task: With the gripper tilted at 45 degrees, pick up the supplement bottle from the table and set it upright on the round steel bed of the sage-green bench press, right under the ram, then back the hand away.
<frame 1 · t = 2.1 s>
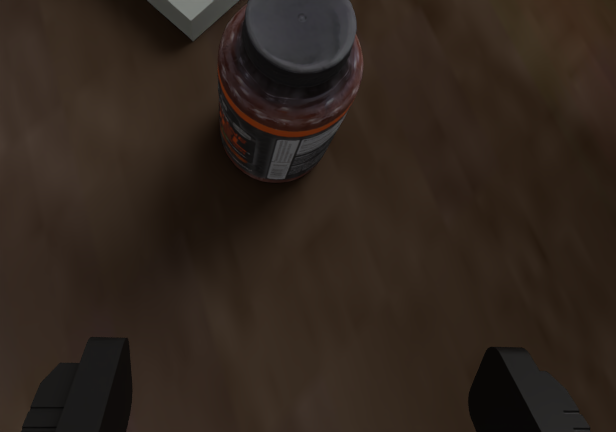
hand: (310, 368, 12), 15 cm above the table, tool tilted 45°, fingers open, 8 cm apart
supplement bottle: (273, 136, 30), on the table
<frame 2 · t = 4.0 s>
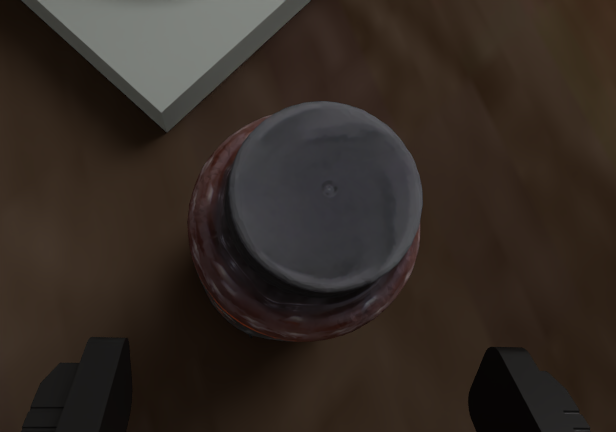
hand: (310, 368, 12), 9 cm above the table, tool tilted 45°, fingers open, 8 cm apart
supplement bottle: (275, 265, 22), on the table
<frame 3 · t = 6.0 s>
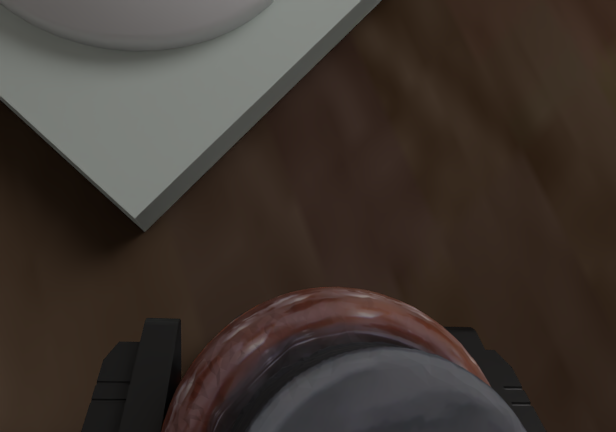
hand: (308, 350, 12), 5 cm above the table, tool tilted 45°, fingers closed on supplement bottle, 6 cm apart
supplement bottle: (283, 403, 17), on the table, touching gripper
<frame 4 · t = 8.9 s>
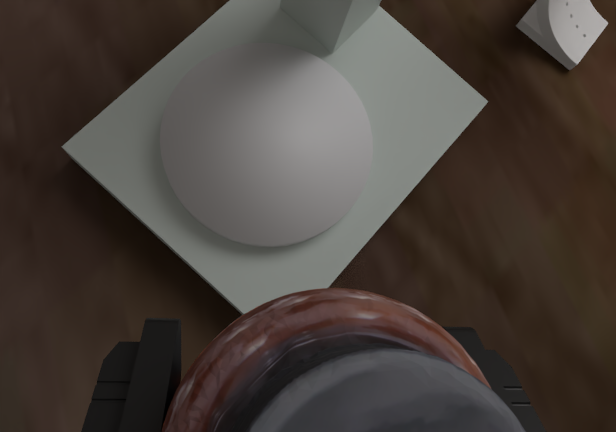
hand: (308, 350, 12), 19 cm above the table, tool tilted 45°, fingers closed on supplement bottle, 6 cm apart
headphone stand: (551, 24, 39), on the table
supplement bottle: (283, 403, 17), point 13 cm above the table, touching gripper
press: (265, 156, 33), on the table
when the fingers open (9 cm above the table, at t = 12.3 s): supplement bottle stays where it is, resting on press.
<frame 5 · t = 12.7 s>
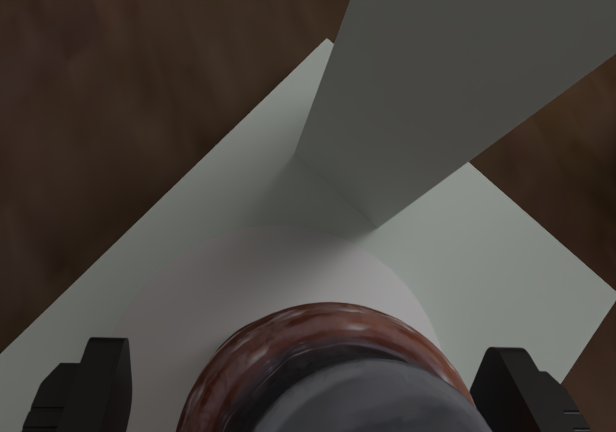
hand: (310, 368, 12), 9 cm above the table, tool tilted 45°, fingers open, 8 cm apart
supplement bottle: (284, 406, 18), point 3 cm above the table, touching press
press: (272, 391, 21), on the table
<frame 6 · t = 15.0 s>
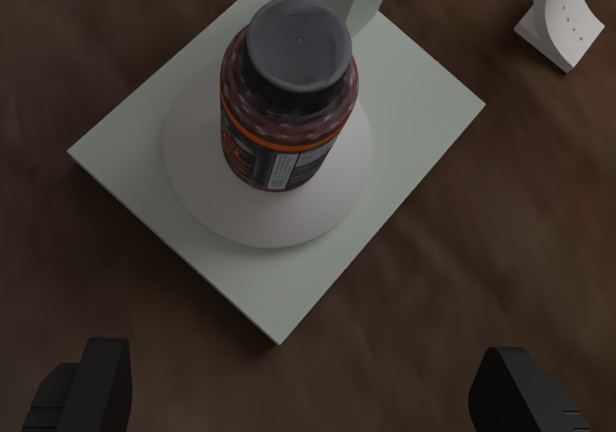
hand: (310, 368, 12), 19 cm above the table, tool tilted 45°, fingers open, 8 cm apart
headphone stand: (548, 28, 39), on the table
supplement bottle: (273, 147, 31), point 3 cm above the table, touching press
press: (266, 159, 33), on the table
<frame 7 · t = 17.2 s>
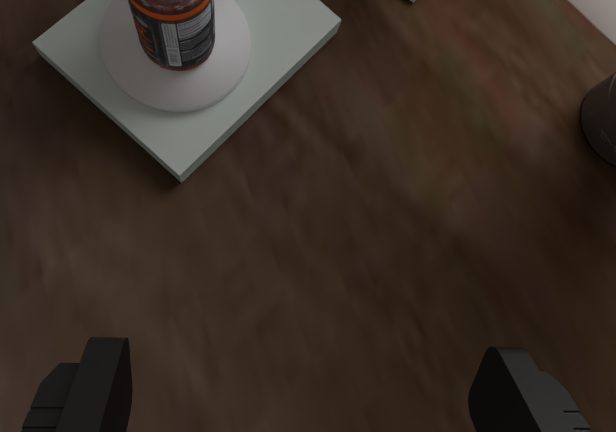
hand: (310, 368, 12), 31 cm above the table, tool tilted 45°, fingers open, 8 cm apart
supplement bottle: (178, 42, 43), point 3 cm above the table, touching press
press: (179, 57, 46), on the table
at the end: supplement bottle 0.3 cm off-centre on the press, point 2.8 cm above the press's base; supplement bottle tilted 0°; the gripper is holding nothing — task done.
